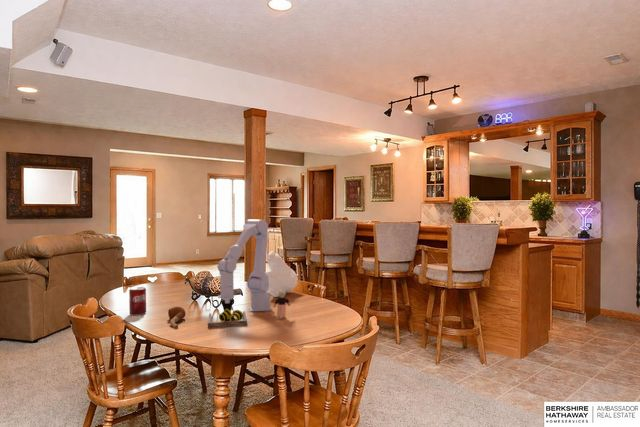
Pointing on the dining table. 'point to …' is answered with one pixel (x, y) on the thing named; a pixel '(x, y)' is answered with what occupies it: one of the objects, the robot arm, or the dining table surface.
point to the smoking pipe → (176, 315)
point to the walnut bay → (227, 322)
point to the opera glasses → (231, 315)
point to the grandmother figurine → (281, 305)
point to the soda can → (137, 301)
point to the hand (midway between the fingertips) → (227, 315)
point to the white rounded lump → (280, 275)
